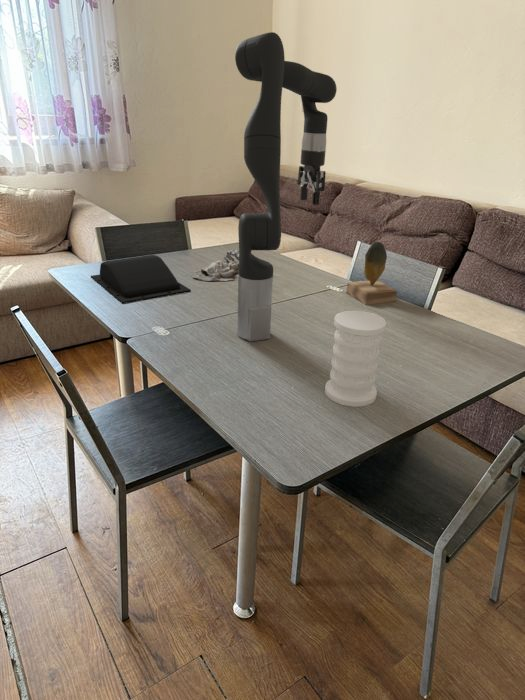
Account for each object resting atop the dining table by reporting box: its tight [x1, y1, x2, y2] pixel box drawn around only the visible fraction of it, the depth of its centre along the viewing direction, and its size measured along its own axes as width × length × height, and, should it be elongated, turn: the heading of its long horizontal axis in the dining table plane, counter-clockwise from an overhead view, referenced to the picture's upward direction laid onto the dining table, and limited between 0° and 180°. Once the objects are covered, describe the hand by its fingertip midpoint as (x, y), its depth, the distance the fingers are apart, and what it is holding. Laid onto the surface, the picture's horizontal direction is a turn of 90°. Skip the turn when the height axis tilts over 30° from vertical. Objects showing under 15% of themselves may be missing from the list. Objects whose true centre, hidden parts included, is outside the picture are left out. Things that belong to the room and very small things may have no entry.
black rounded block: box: [90, 254, 192, 305], centre depth 176 cm, size 24×8×30 cm
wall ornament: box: [190, 249, 239, 282], centre depth 193 cm, size 19×10×30 cm
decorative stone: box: [363, 241, 388, 285], centre depth 171 cm, size 10×6×15 cm, turn 130°
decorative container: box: [324, 310, 387, 408], centre depth 112 cm, size 12×12×18 cm
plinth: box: [346, 279, 398, 305], centre depth 175 cm, size 12×12×4 cm
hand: (309, 202), depth 166 cm, fingers open, 8 cm apart
